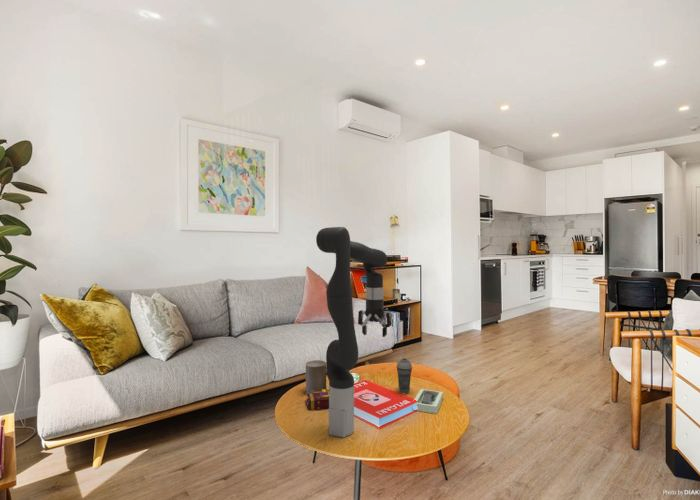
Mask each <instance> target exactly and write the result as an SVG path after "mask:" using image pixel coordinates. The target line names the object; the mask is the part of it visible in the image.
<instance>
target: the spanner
mask: <svg viewBox="0 0 700 500" xmlns="http://www.w3.org/2000/svg"><path fill="white" fill-rule="evenodd" d="M425 390H426V391H425V392H424V397H423V399H422V401H421V403H422V404H429V405H431V403H432V401H435V398H436V392H435V391H436V390H432V391H428V390H429V389H425Z"/></svg>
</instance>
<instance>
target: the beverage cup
mask: <svg viewBox="0 0 700 500" xmlns="http://www.w3.org/2000/svg"><path fill="white" fill-rule="evenodd" d="M401 357H402V358H401V359H399V360H398V361H397V364H396V371H397V381H398V392H399V393H400V392H401V393H405V394H404V395H407V394H406V393H408V394H409V393H410V390H411V389H410V388H411V387H410V386H411V377H412V370H413V366H412V362H411V361H410V360H409V359H407V358H404V351H403V349H402V348H401ZM401 393H400V394H401Z"/></svg>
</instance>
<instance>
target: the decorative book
mask: <svg viewBox="0 0 700 500" xmlns="http://www.w3.org/2000/svg"><path fill="white" fill-rule="evenodd" d="M306 396H307V398H306V400H305V401H304V403H305V404H306V405H307V406H308V410H309V411H322V410H326V409H328V410H329V389H326V390H325V389H322V390H319V391H315V390H312V391H307V393H306Z"/></svg>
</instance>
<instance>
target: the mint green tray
mask: <svg viewBox="0 0 700 500" xmlns="http://www.w3.org/2000/svg"><path fill="white" fill-rule="evenodd" d="M426 390H428V391H433V390H432V389H431V390H430V389H424V388H420V389H419V391H418V392H417V394H416V396H415V397H414V399H413V401H414V400H416V401H417V402H418V403H416V404H417V407H418V409H417V412H423V413H428V414H434V415H437V414H438V411H439V409H440V407H441V404H442V402H443V400H444V391H437V390H434V391H435V392H436V398H435V401H432V403H431V405H429V404H422V403H421V401H422V399H423V397H424V392H425V391H426Z"/></svg>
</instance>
